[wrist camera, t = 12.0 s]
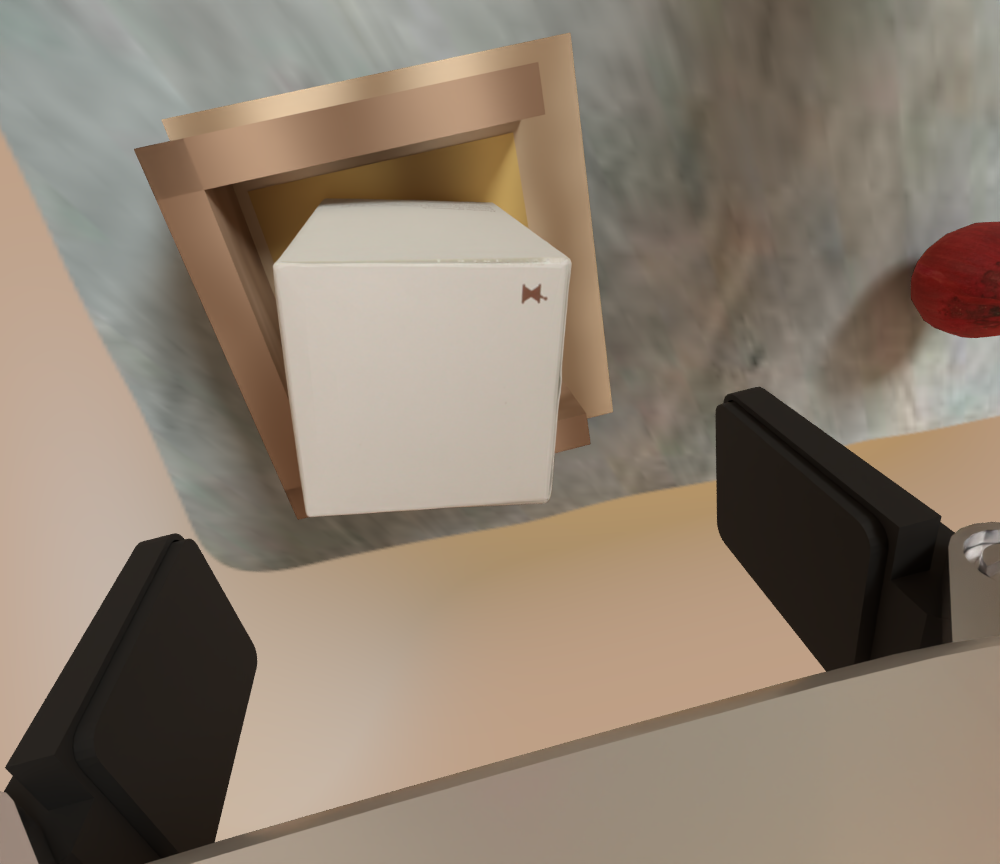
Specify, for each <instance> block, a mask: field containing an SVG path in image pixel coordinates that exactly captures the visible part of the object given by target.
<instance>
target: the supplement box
mask: <svg viewBox="0 0 1000 864" xmlns="http://www.w3.org/2000/svg"><path fill="white" fill-rule="evenodd" d="M571 264H572V263H571V260H570V259H569V258H568V257H567V256H566V255H564V254H563V253H561V252H560V251H559V250H557V249H556V248H554V247H553V246H552V245H550V244H549V243H548V242H546V241H545V240H543V239H542V238H541V237H539V236H538V235H536V234H535V233H534V232H532V231H531V230H530V229H528V228H527V227H526V226H524V225H523V224H521V223H520V222H519V221H517V220H516V219H515V218H513V217H512V216H510V215H509V214H508V213H506V212H505V211H504V210H502V209H501V208H500V207H498V206H497V205H495V204H494V203H493V202H455V201H427V200H384V199H324V200H323V201H322V202H321V203H320V205H319V206H318V207H317V208H316V210H315V211H314V212H313V214H312V215H311V216H310V218H309V219H308V220H307V222H306V223H305V225H304V226H303V227H302V229H301V230H300V231H299V232H298V234H297V235H296V237H295V238H294V239H293V241H292V242H291V243H290V245H289V246H288V247H287V249H286V250H285V251H284V252H283V254H282V255H281V257H280V258H279V259H278V260H277V261H276V262H275V263H274V264H273V275H274V286H275V295H276V305H277V312H278V320H279V328H280V336H281V343H282V351H283V358H284V366H285V374H286V381H287V389H288V396H289V403H290V410H291V417H292V424H293V431H294V438H295V445H296V452H297V459H298V466H299V474H300V480H301V486H302V492H303V499H304V505H305V511H306V515H307V516H309V517H317V516H333V515H349V514H364V513H378V512H393V511H408V510H423V509H437V508H449V507H473V506H498V505H517V504H542V503H546V502H548V501H549V498H550V496H551V491H552V479H553V467H554V453H555V442H556V431H557V418H558V407H559V400H560V393H561V384H562V360H563V349H564V337H565V325H566V315H567V303H568V291H569V282H570V275H571Z"/></svg>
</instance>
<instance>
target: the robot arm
mask: <svg viewBox="0 0 1000 864" xmlns="http://www.w3.org/2000/svg"><path fill="white" fill-rule="evenodd" d="M716 477H717V525H718V530H719V533H720V536H721V538H722V540H723V541H724V543H725V544H726V545H727V547H728V548H729V549H730V551H731V552H732V553H733V554H734V555H735V557H736V558H737V559H738V561H739V562H740V563H741V565H742V566H743V567H744V568H745V570H746V571H747V572H748V573H749V575H750V576H751V577H752V578H753V580H754V581H755V582H756V583H757V585H758V586H759V587H760V588H761V590H762V591H763V592H764V593H765V595H766V596H767V597H768V599H769V600H770V601H771V602H772V604H773V605H774V606H775V607H776V609H777V610H778V611H779V612H780V614H781V615H782V616H783V618H784V619H785V620H786V621H787V623H788V624H789V625H790V626H791V627H792V629H793V630H794V631H795V633H796V634H797V635H798V636H799V638H800V639H801V640H802V641H803V643H804V644H805V645H806V647H807V648H808V649H809V650H810V652H811V653H812V654H813V655H814V657H815V658H816V659H817V660H818V662H819V663H820V664H821V665H822V667H823V668H824V669H825V671H826V672H824V673H819V674H815V675H812V676H808V677H804V678H800V679H796V680H792V681H788V682H784V683H781V684H777V685H774V686H770V687H766V688H763V689H759V690H755V691H752V692H748V693H745V694H741V695H737V696H734V697H730V698H726V699H722V700H719V701H715V702H712V703H708V704H705V705H701V706H697V707H693V708H690V709H686V710H682V711H679V712H675V713H672V714H668V715H664V716H661V717H657V718H654V719H650V720H646V721H642V722H639V723H635V724H631V725H628V726H624V727H620V728H617V729H613V730H610V731H606V732H603V733H599V734H595V735H592V736H588V737H585V738H581V739H577V740H574V741H570V742H567V743H563V744H560V745H556V746H553V747H549V748H545V749H542V750H538V751H535V752H531V753H527V754H524V755H520V756H517V757H513V758H510V759H506V760H503V761H499V762H495V763H492V764H488V765H485V766H481V767H478V768H474V769H470V770H467V771H463V772H460V773H456V774H453V775H449V776H446V777H443V778H438V779H435V780H431V781H428V782H424V783H421V784H417V785H414V786H410V787H406V788H403V789H400V790H396V791H392V792H390V793H385V794H382V795H379V796H375V797H372V798H368V799H365V800H361V801H358V802H354V803H351V804H347V805H344V806H340V807H337V808H333V809H330V810H326V811H323V812H319V813H316V814H313V815H309V816H305V817H302V818H298V819H295V820H291V821H288V822H284V823H281V824H278V825H274V826H270V827H267V828H263V829H260V830H256V831H253V832H249V833H246V834H242V835H239V836H235V837H232V838H229V839H225V840H222V841H218V842H215V838H216V834H217V830H218V825H219V821H220V817H221V813H222V809H223V805H224V801H225V796H226V792H227V788H228V784H229V780H230V775H231V772H232V767H233V763H234V759H235V755H236V750H237V746H238V742H239V738H240V734H241V730H242V726H243V721H244V717H245V713H246V709H247V705H248V701H249V697H250V693H251V689H252V684H253V680H254V676H255V672H256V667H257V654H256V650H255V647H254V644H253V643H252V641H251V639H250V637H249V636H248V634H247V632H246V630H245V628H244V627H243V625H242V624H241V621H240V620H239V618H238V616H237V614H236V613H235V611H234V609H233V607H232V606H231V604H230V602H229V600H228V598H227V597H226V595H225V593H224V591H223V590H222V588H221V586H220V584H219V582H218V581H217V579H216V577H215V575H214V574H213V572H212V570H211V568H210V567H209V565H208V563H207V561H206V559H205V558H204V556H203V554H202V553H201V551H200V549H199V547H198V545H197V544H196V543H195V542H194V541H193V540H192V539H184V538H183V537H182V536H181V535H179V534H170V535H166V536H162V537H159V538H155V539H151V540H147V541H143V542H140V543H139V544H138V545H137V546H136V547H135V549H134V551H133V552H132V554H131V556H130V557H129V559H128V561H127V562H126V564H125V566H124V568H123V569H122V571H121V573H120V574H119V576H118V578H117V579H116V581H115V583H114V584H113V586H112V588H111V590H110V591H109V593H108V595H107V596H106V598H105V600H104V601H103V603H102V605H101V607H100V608H99V610H98V612H97V613H96V615H95V616H94V618H93V620H92V622H91V623H90V625H89V627H88V628H87V630H86V632H85V633H84V635H83V637H82V639H81V640H80V642H79V643H78V645H77V647H76V649H75V650H74V652H73V654H72V655H71V657H70V659H69V661H68V662H67V664H66V665H65V667H64V669H63V671H62V672H61V674H60V676H59V677H58V679H57V681H56V682H55V684H54V686H53V687H52V689H51V691H50V693H49V694H48V696H47V698H46V699H45V701H44V703H43V704H42V706H41V708H40V709H39V711H38V713H37V714H36V716H35V718H34V720H33V721H32V723H31V725H30V726H29V728H28V730H27V731H26V733H25V735H24V736H23V738H22V740H21V741H20V743H19V745H18V747H17V748H16V750H15V752H14V753H13V755H12V757H11V758H10V760H9V762H8V763H7V765H6V767H5V768H6V769H7V770H8V771H9V772H10V773H11V774H12V775H13V777H12V779H11V780H10V782H9V784H8V785H7V787H6V789H5V791H4V792H0V864H1000V523H999V522H988V523H977V524H972V525H969V526H967V527H964V528H961V529H959V530H958V531H957V532H956V533H955V532H953V531H952V530H950V529H949V528H948V527H946V526H945V525H944V524H942V523H941V522H940V520H941V516H940V515H939V514H938V513H936V512H935V511H934V510H932V509H930V508H929V507H928V506H927V505H925V504H924V503H922V502H921V501H920V500H918V499H917V498H915V497H914V496H913V495H911V494H910V493H908V492H907V491H906V490H904V489H903V488H902V487H900V486H899V485H897V484H896V483H894V482H893V481H892V480H890V479H889V478H887V477H886V476H885V475H883V474H882V473H881V472H879V471H878V470H876V469H875V468H874V467H872V466H871V465H869V464H868V463H867V462H865V461H864V460H863V459H861V458H860V457H858V456H857V455H856V454H854V453H853V452H851V451H850V450H849V449H847V448H846V447H844V446H843V445H842V444H840V443H839V442H837V441H836V440H835V439H833V438H832V437H830V436H829V435H828V434H826V433H825V432H823V431H822V430H821V429H819V428H818V427H817V426H815V425H814V424H812V423H811V422H810V421H808V420H807V419H805V418H804V417H803V416H801V415H800V414H798V413H797V412H796V411H794V410H793V409H791V408H790V407H789V406H787V405H786V404H784V403H783V402H782V401H780V400H779V399H778V398H776V397H775V396H773V395H772V394H771V393H769V392H768V391H766V390H765V389H763V388H761V387H755V388H751V389H747V390H743V391H739V392H735V393H731V394H728V395H727V396H726V397H725V399H724V403H723V404H720V405H718V406H717V408H716ZM214 842H215V843H214Z"/></svg>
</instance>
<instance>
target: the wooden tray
mask: <svg viewBox="0 0 1000 864" xmlns="http://www.w3.org/2000/svg"><path fill="white" fill-rule="evenodd" d="M162 122H163V125H164V127H165V130H166V132H167V134H168V137H169V139H170V141H168V142H164V143H159V144H154V145H150V146H145V147H141V148H136V149H134V151H135V153H136V155H137V157H138V160H139V162H140V164H141V167H142V169H143V171H144V173H145V176H146V178H147V180H148V182H149V185H150V187H151V189H152V191H153V194H154V196H155V198H156V200H157V203H158V205H159V207H160V210H161V212H162V214H163V216H164V219H165V221H166V223H167V225H168V228H169V230H170V232H171V234H172V237H173V239H174V241H175V243H176V246H177V248H178V250H179V252H180V255H181V257H182V259H183V262H184V264H185V266H186V268H187V271H188V273H189V275H190V277H191V280H192V282H193V284H194V286H195V289H196V291H197V293H198V295H199V298H200V300H201V302H202V305H203V307H204V309H205V311H206V314H207V316H208V318H209V320H210V323H211V325H212V327H213V329H214V332H215V334H216V336H217V338H218V341H219V343H220V345H221V347H222V350H223V352H224V354H225V357H226V359H227V361H228V363H229V366H230V368H231V370H232V372H233V375H234V377H235V379H236V381H237V384H238V386H239V388H240V390H241V393H242V395H243V397H244V399H245V402H246V404H247V406H248V409H249V411H250V413H251V415H252V418H253V420H254V422H255V424H256V427H257V429H258V431H259V433H260V436H261V438H262V440H263V442H264V445H265V447H266V449H267V452H268V454H269V456H270V458H271V461H272V463H273V465H274V467H275V470H276V472H277V474H278V476H279V479H280V481H281V483H282V485H283V488H284V490H285V492H286V494H287V497H288V499H289V501H290V504H291V506H292V508H293V510H294V513H295V515H296V517H297V519H298V520H299V519H303V518H307V517H309V516H307V515H306V511H305V505H304V499H303V492H302V486H301V480H300V474H299V466H298V459H297V452H296V445H295V438H294V431H293V424H292V417H291V410H290V403H289V396H288V389H287V381H286V374H285V366H284V358H283V351H282V343H281V336H280V328H279V320H278V312H277V305H276V295H275V286H274V275H273V264H274V263H275V262H276V261H277V260H278V259H279V258H280V257H281V255H282V254H283V252H284V251H285V250H286V249H287V247H288V246H289V245H290V243H291V242H292V241H293V239H294V238H295V237H296V235H297V234H298V232H299V231H300V230H301V229H302V227H303V226H304V225H305V223H306V222H307V220H308V219H309V218H310V216H311V215H312V214H313V212H314V211H315V210H316V208H317V207H318V206H319V205H320V203H321V202H322V201H323V200H324V199H384V200H427V201H455V202H493V203H494V204H495V205H497V206H498V207H500V208H501V209H502V210H504V211H505V212H506V213H508V214H509V215H510V216H512V217H513V218H515V219H516V220H517V221H519V222H520V223H521V224H523V225H524V226H526V227H527V228H528V229H530V230H531V231H532V232H534V233H535V234H536V235H538V236H539V237H541V238H542V239H543V240H545V241H546V242H548V243H549V244H550V245H552V246H553V247H554V248H556V249H557V250H559V251H560V252H561V253H563V254H564V255H566V256H567V257H568V258H569V259H570V260H571V263H572V264H571V275H570V282H569V291H568V303H567V315H566V325H565V337H564V349H563V360H562V384H561V393H560V400H559V407H558V418H557V431H556V442H555V453H558V452H562V451H565V450H569V449H573V448H577V447H581V446H585V445H589V444H590V436H589V429H588V422H587V419H588V418H591V417H595V416H599V415H603V414H607V413H611V412H613V408H612V399H611V390H610V381H609V372H608V364H607V355H606V346H605V337H604V328H603V319H602V310H601V301H600V292H599V283H598V275H597V266H596V257H595V248H594V239H593V230H592V221H591V212H590V203H589V194H588V186H587V177H586V168H585V159H584V150H583V141H582V132H581V123H580V114H579V105H578V97H577V88H576V79H575V70H574V61H573V52H572V43H571V34H570V33H566V34H562V35H557V36H552V37H547V38H543V39H538V40H533V41H529V42H524V43H519V44H515V45H510V46H505V47H501V48H496V49H491V50H486V51H482V52H477V53H472V54H468V55H463V56H458V57H454V58H449V59H444V60H439V61H435V62H430V63H425V64H421V65H416V66H411V67H407V68H402V69H397V70H393V71H388V72H383V73H378V74H374V75H369V76H364V77H360V78H355V79H350V80H346V81H341V82H336V83H331V84H327V85H322V86H317V87H313V88H308V89H303V90H299V91H294V92H289V93H284V94H280V95H275V96H270V97H266V98H261V99H256V100H252V101H247V102H242V103H238V104H233V105H228V106H223V107H219V108H214V109H209V110H205V111H200V112H195V113H191V114H186V115H181V116H176V117H172V118H167V119H162Z"/></svg>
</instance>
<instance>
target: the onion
mask: <svg viewBox="0 0 1000 864" xmlns="http://www.w3.org/2000/svg"><path fill="white" fill-rule="evenodd" d="M911 300H912V302H913V303H914V305H915V307H916V308H917V310H918V312H919V313H920V315H921V316H922V318H923V320H924V321H925V322H927V323H928V324H930V325H931V326H933V327H934V328H936V329H939V330H942V331H944V332H947V333H950V334H953V335H957V336H960V337H967V338H980V337H990V336H998V335H1000V222H982V223H974V224H971V225H969V226H966V227H963V228H961V229H958V230H956V231H953V232H950V233H948V234H946V235H945V236H943V237H942V238H941V239H939V240H938V241H937V242H936V243H934V244H933V245H932V246H931V247H929V248H928V249H927V250H926V251H925V253H924V254H923V255H922V257H921V258H920V259H919V260H918V262H917V264H916V267H915V269H914V272H913V275H912V278H911Z"/></svg>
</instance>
